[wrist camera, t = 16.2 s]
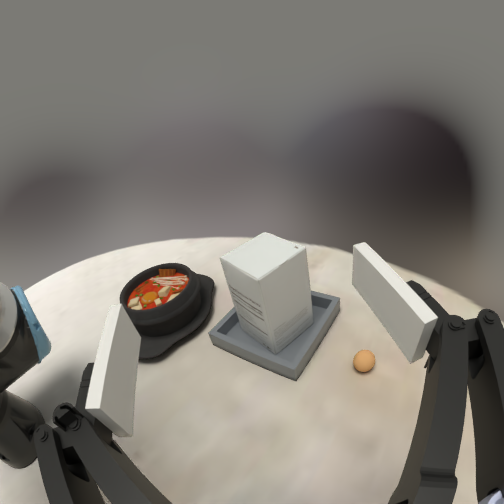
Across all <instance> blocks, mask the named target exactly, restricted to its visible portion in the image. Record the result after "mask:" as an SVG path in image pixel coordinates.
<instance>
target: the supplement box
mask: <svg viewBox="0 0 504 504" xmlns="http://www.w3.org/2000/svg"><path fill="white" fill-rule="evenodd" d="M220 260H221V264H222V267H223V271H224V274H225V277H226V280H227V284H228V287H229V290H230V293H231V297H232V300H233V303H234V306H235V309H236V312H237V316H238V319H239V322H240V325H241V328H242V330H243V331H244V332H246V333H247V334H248V335H250V336H251V337H252V338H254V339H255V340H256V341H258V342H259V343H260V344H262V345H263V346H264V347H266V348H267V349H268V350H270V351H271V352H273V353H274V354H277V353H279V352H280V351H281V350H282V349H283V348H285V347H286V346H287V345H288V344H289V343H291V342H292V341H293V340H294V339H295V338H297V337H298V336H299V335H300V334H301V333H302V332H304V331H305V330H306V329H307V328H308V327H309V326H311V325H312V324H313V312H312V301H311V291H310V280H309V271H308V262H307V253H306V247H304V246H301V245H298V244H296V243H293V242H290V241H287V240H285V239H282V238H280V237H277V236H275V235H272V234H269V233H266V232H264V233H262V234H260V235H258V236H257V237H255V238H253V239H251V240H250V241H248V242H246V243H244V244H243V245H241V246H239V247H237V248H236V249H234V250H232V251H230V252H229V253H227V254H225V255H223V256H222V257H220Z"/></svg>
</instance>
